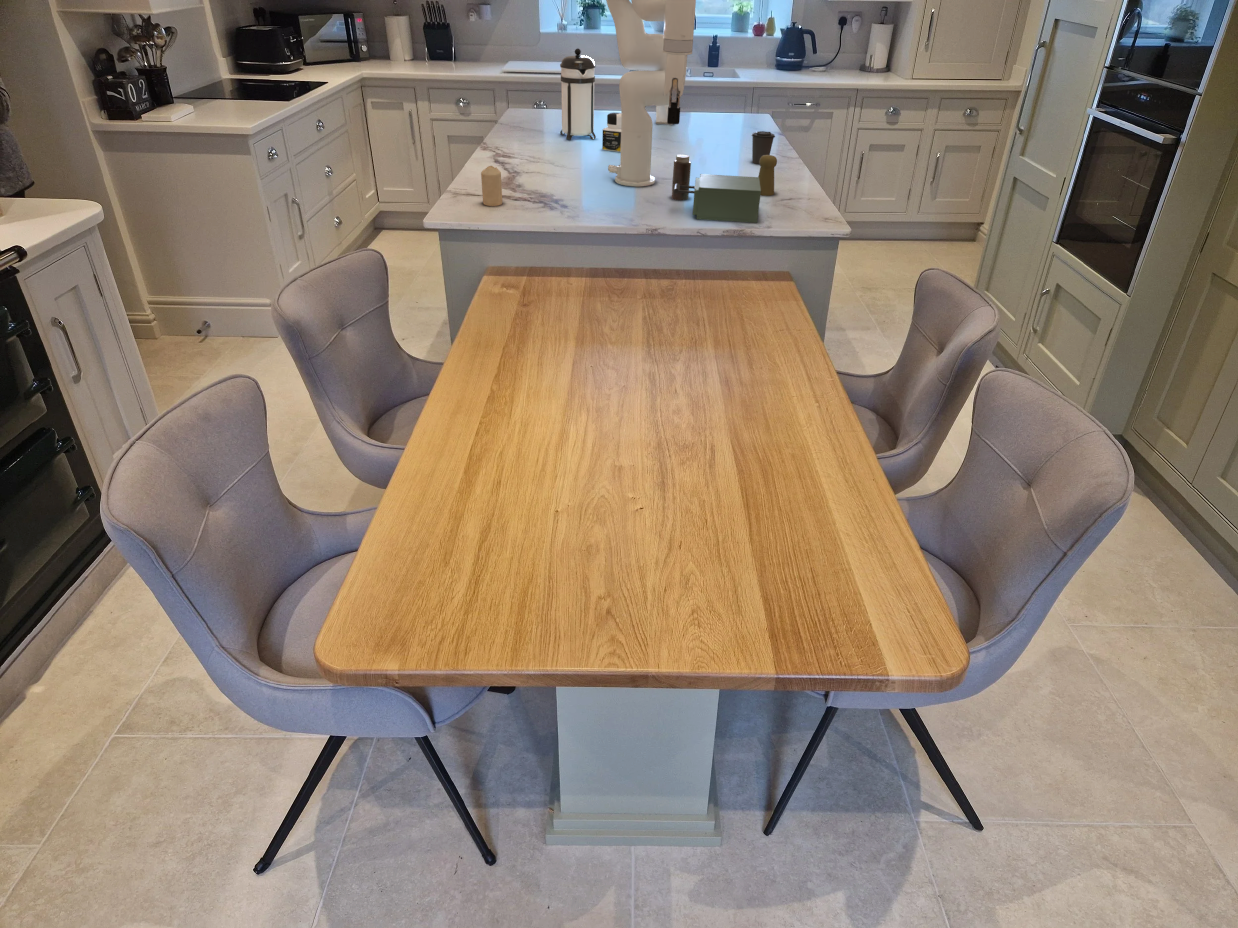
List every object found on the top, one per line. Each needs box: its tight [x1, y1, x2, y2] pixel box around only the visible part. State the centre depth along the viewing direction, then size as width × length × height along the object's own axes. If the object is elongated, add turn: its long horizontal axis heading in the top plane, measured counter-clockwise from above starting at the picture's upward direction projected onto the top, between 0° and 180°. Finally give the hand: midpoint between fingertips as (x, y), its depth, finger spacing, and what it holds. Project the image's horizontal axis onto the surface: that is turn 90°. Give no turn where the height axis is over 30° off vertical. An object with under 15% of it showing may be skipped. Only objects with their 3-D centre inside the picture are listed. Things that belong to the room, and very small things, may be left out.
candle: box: [480, 165, 503, 207], centre depth 227 cm, size 6×6×10 cm
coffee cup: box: [751, 130, 776, 166], centre depth 277 cm, size 8×8×10 cm
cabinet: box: [696, 173, 762, 224], centre depth 226 cm, size 17×15×9 cm
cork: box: [757, 154, 778, 197], centre depth 244 cm, size 6×6×11 cm
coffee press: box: [559, 48, 597, 141], centre depth 299 cm, size 17×16×30 cm
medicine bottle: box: [601, 112, 621, 153], centre depth 287 cm, size 7×7×12 cm
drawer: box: [674, 177, 700, 216], centre depth 226 cm, size 21×13×7 cm, turn 84°
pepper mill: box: [671, 154, 692, 201], centre depth 237 cm, size 5×5×12 cm
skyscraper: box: [655, 105, 674, 126], centre depth 326 cm, size 8×8×28 cm
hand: (673, 123), depth 217 cm, fingers closed
